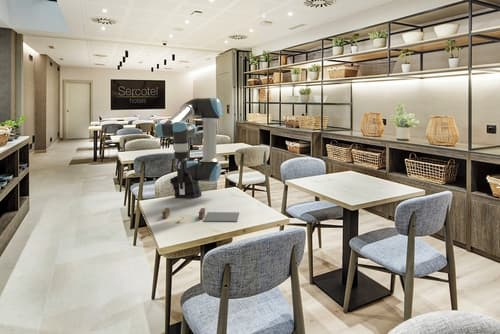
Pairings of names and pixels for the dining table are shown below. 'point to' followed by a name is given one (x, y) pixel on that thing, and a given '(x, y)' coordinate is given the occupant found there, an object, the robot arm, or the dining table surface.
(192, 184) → the black piece
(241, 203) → the dining table surface
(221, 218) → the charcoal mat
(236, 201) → the dining table surface
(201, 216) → the walnut holder
